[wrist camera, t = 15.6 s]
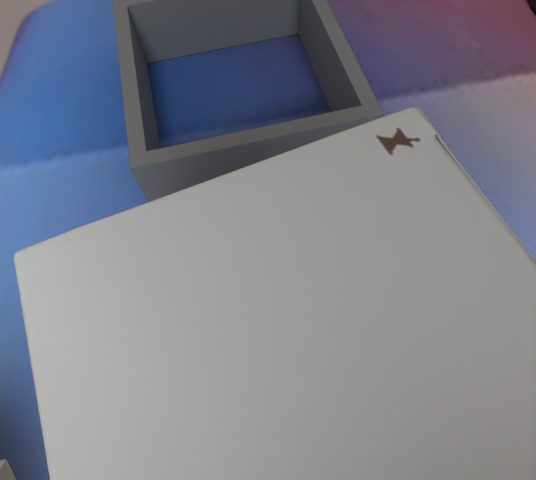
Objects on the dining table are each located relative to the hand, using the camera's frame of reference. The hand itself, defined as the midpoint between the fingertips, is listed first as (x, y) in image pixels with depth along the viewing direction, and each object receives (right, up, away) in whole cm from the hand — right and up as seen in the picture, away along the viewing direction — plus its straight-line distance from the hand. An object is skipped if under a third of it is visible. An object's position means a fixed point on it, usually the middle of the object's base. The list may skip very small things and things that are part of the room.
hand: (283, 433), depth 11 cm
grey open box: (-3, +15, +22) cm, 26 cm away
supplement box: (+1, -5, +11) cm, 12 cm away
